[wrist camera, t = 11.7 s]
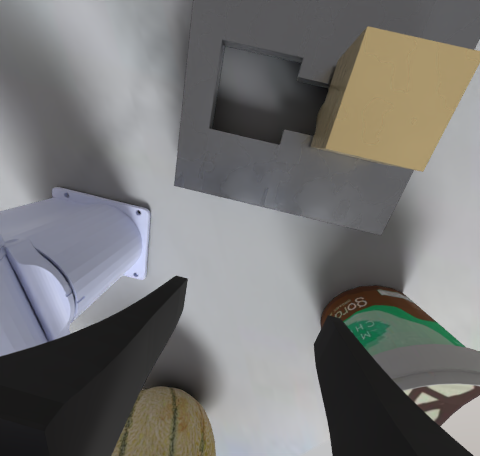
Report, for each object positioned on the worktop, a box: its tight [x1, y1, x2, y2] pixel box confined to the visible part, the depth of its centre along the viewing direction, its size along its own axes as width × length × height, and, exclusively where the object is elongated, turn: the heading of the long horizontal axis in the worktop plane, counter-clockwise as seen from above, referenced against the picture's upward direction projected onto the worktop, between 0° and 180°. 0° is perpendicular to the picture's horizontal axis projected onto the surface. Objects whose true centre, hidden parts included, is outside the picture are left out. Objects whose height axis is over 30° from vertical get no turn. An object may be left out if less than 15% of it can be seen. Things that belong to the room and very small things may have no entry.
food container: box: [321, 285, 480, 426], centre depth 18 cm, size 12×6×10 cm, turn 151°
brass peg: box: [311, 26, 480, 172], centre depth 13 cm, size 5×5×8 cm
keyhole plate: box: [174, 0, 480, 235], centre depth 16 cm, size 16×14×3 cm
